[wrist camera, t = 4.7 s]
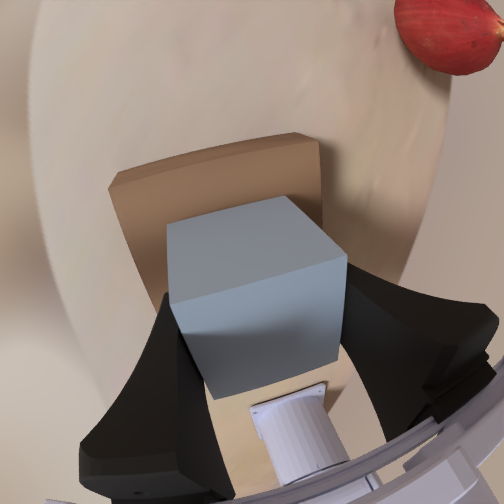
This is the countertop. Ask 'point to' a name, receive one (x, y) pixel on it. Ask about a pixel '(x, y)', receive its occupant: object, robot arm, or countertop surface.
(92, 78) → the countertop surface
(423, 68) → the countertop surface
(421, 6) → the onion
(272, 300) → the cube
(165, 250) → the base
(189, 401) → the robot arm
